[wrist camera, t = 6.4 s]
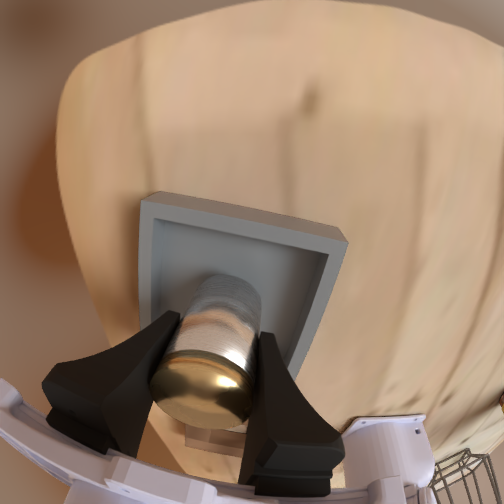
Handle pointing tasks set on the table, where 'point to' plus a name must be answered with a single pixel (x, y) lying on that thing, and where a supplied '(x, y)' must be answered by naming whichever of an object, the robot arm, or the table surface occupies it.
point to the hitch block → (216, 440)
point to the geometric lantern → (479, 456)
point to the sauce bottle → (502, 402)
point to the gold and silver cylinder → (212, 356)
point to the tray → (239, 263)
